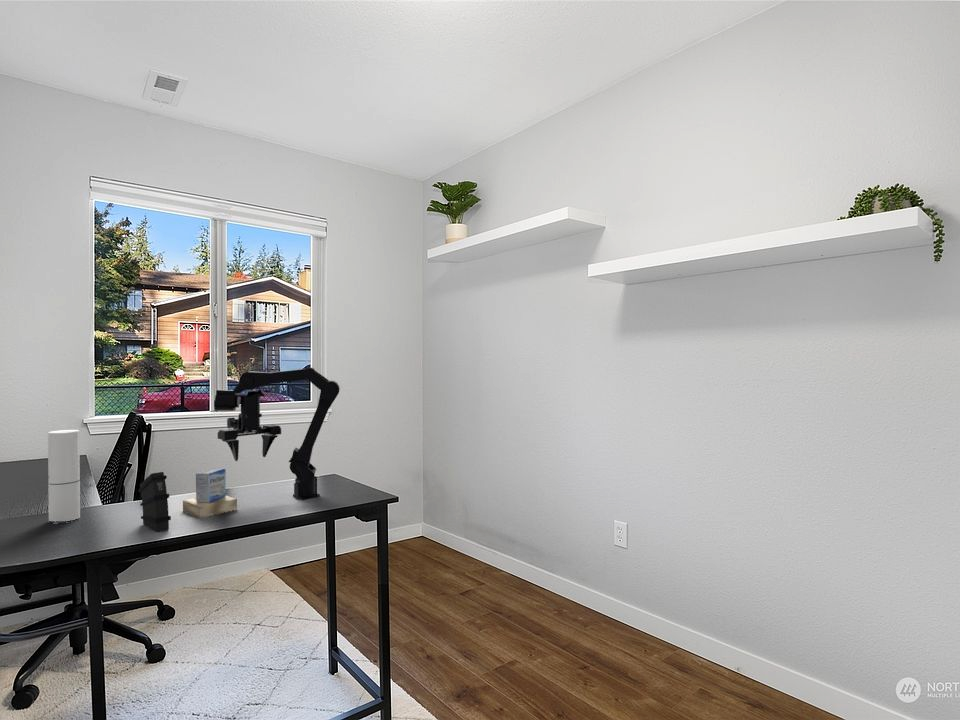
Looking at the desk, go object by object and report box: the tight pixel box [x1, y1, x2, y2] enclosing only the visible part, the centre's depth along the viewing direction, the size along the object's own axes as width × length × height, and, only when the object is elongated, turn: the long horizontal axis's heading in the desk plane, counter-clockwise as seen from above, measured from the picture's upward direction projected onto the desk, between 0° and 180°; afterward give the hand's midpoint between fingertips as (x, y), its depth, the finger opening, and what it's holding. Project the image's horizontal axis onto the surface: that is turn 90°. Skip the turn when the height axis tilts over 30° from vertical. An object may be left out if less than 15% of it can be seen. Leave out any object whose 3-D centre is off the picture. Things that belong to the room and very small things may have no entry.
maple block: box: [182, 494, 238, 519], centre depth 171 cm, size 11×11×4 cm
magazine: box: [138, 471, 172, 533], centre depth 155 cm, size 4×13×15 cm, turn 48°
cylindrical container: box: [47, 429, 81, 522], centre depth 161 cm, size 7×7×25 cm
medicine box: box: [195, 467, 227, 503], centre depth 170 cm, size 8×4×9 cm, turn 168°
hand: (250, 458), depth 183 cm, fingers open, 9 cm apart
